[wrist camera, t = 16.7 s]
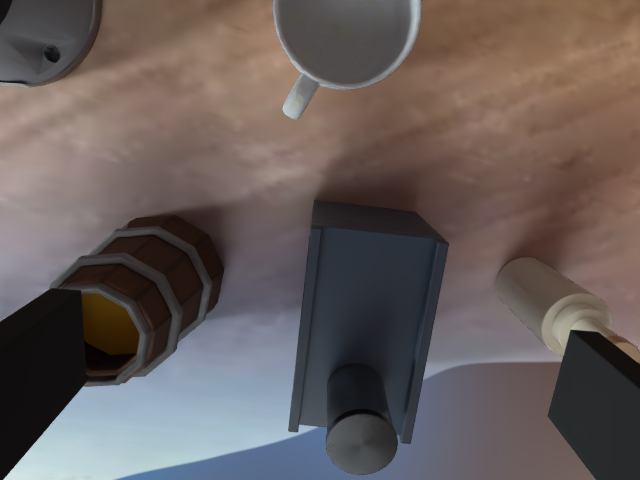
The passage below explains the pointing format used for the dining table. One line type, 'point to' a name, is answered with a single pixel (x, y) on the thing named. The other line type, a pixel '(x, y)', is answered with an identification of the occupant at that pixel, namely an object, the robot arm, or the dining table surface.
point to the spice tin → (359, 421)
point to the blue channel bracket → (367, 306)
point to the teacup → (343, 42)
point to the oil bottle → (555, 305)
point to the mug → (142, 295)
